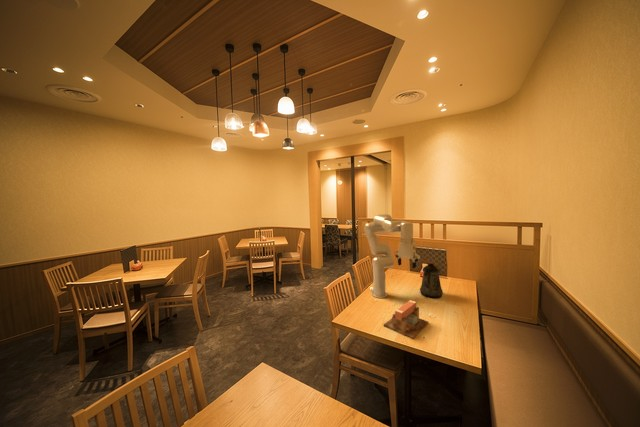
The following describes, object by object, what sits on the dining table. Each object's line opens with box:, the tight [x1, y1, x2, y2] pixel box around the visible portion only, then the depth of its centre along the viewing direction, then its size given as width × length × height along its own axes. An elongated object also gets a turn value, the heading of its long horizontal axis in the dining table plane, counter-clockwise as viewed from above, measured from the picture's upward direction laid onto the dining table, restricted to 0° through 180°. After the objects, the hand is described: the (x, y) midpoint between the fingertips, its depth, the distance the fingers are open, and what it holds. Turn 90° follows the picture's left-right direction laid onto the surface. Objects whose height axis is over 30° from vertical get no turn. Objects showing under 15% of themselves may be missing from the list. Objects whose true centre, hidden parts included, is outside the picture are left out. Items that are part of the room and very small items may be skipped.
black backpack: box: [419, 263, 444, 300], centre depth 176 cm, size 16×19×25 cm
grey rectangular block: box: [407, 314, 417, 326], centre depth 136 cm, size 12×4×6 cm, turn 39°
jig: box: [383, 306, 429, 340], centre depth 136 cm, size 18×22×9 cm
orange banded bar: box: [394, 299, 417, 321], centre depth 136 cm, size 4×20×5 cm, turn 133°
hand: (406, 266), depth 145 cm, fingers open, 9 cm apart
